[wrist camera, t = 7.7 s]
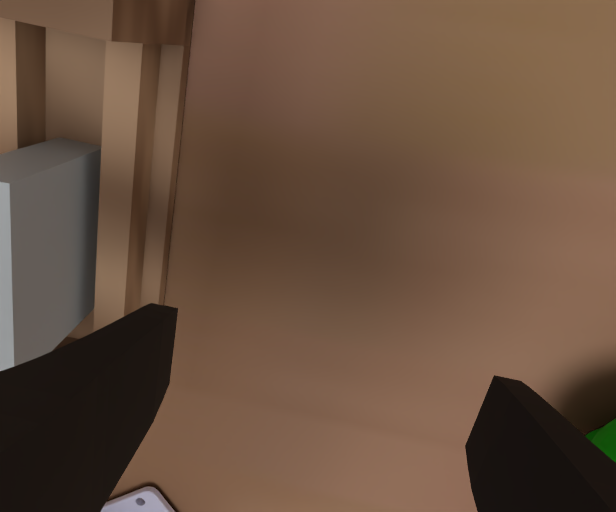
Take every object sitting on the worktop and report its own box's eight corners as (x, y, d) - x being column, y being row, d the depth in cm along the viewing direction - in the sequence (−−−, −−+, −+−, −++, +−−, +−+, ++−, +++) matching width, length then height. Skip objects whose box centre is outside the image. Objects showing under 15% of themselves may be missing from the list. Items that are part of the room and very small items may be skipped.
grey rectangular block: (98, 304, 22) (14, 388, 17) (57, 296, 22) (-39, 377, 17) (105, 147, 20) (9, 183, 14) (59, 137, 20) (-55, 170, 14)
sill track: (157, 359, 24) (91, 468, 18) (12, 328, 24) (-107, 427, 18) (196, -14, 18) (115, -52, 12) (2, -56, 18) (-184, -116, 12)
